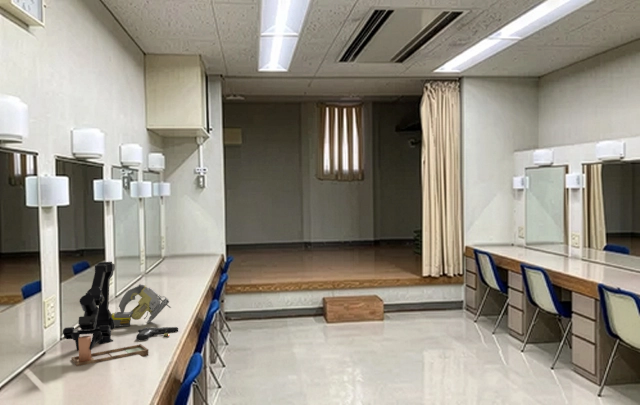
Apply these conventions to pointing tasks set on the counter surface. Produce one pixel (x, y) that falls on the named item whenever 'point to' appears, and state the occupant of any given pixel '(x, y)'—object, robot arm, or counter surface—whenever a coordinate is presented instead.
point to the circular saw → (139, 305)
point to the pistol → (154, 332)
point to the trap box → (130, 351)
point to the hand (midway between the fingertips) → (83, 349)
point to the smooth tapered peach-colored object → (84, 348)
